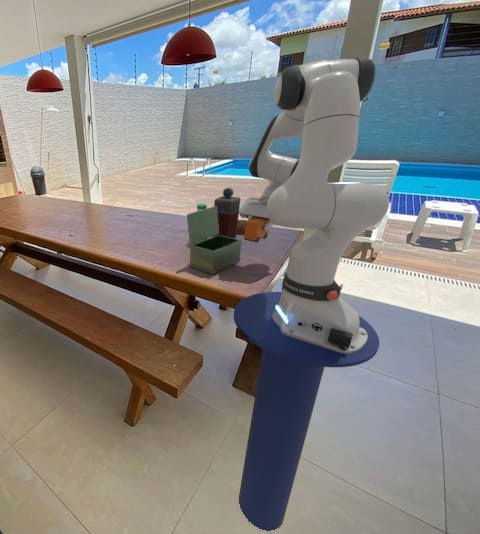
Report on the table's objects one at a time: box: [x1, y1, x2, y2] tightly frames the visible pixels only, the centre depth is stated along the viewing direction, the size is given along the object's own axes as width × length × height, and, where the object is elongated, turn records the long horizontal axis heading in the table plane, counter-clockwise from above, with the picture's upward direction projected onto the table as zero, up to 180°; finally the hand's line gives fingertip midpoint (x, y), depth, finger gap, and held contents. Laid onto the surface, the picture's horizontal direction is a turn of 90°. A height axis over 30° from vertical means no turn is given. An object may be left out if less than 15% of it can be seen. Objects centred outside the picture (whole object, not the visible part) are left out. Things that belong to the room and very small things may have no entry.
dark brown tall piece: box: [212, 187, 241, 239], centre depth 150 cm, size 9×11×28 cm
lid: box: [186, 205, 219, 245], centre depth 132 cm, size 12×20×1 cm
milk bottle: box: [196, 203, 208, 243], centre depth 155 cm, size 8×8×20 cm
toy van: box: [243, 217, 270, 243], centre depth 122 cm, size 5×9×8 cm, turn 129°
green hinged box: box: [189, 235, 243, 275], centre depth 131 cm, size 12×20×10 cm, turn 129°
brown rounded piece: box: [236, 219, 248, 234], centre depth 167 cm, size 15×3×8 cm, turn 72°
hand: (256, 228), depth 121 cm, fingers closed on toy van, 5 cm apart
